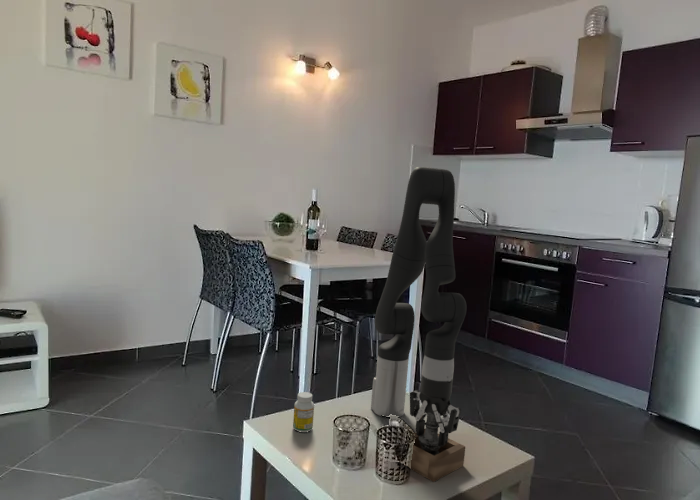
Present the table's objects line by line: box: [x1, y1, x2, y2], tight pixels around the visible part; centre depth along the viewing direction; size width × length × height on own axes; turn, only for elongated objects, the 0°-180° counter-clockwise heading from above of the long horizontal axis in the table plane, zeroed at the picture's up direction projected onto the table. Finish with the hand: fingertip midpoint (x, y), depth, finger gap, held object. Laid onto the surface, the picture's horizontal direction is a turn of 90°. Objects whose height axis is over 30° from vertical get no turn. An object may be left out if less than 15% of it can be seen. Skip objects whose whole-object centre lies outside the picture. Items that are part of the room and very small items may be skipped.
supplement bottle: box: [292, 391, 315, 433], centre depth 139 cm, size 5×5×10 cm
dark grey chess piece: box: [419, 412, 440, 456], centre depth 126 cm, size 6×6×12 cm
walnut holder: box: [410, 427, 466, 483], centre depth 127 cm, size 12×12×5 cm
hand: (430, 440), depth 126 cm, fingers open, 6 cm apart
